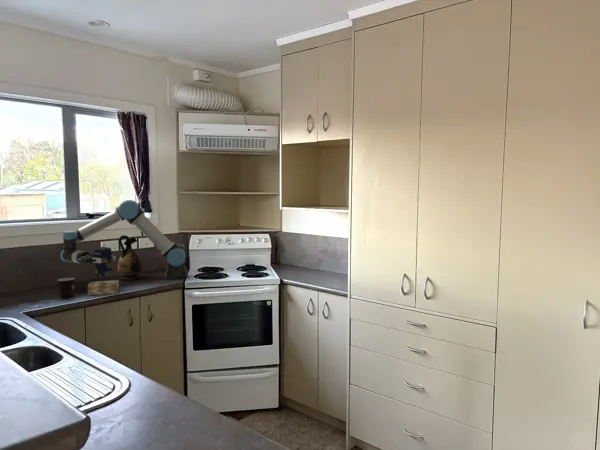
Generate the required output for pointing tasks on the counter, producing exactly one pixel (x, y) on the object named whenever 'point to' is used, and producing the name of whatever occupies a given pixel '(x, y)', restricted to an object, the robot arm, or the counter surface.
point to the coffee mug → (66, 287)
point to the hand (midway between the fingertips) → (107, 259)
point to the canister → (103, 262)
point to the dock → (103, 287)
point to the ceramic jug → (129, 260)
